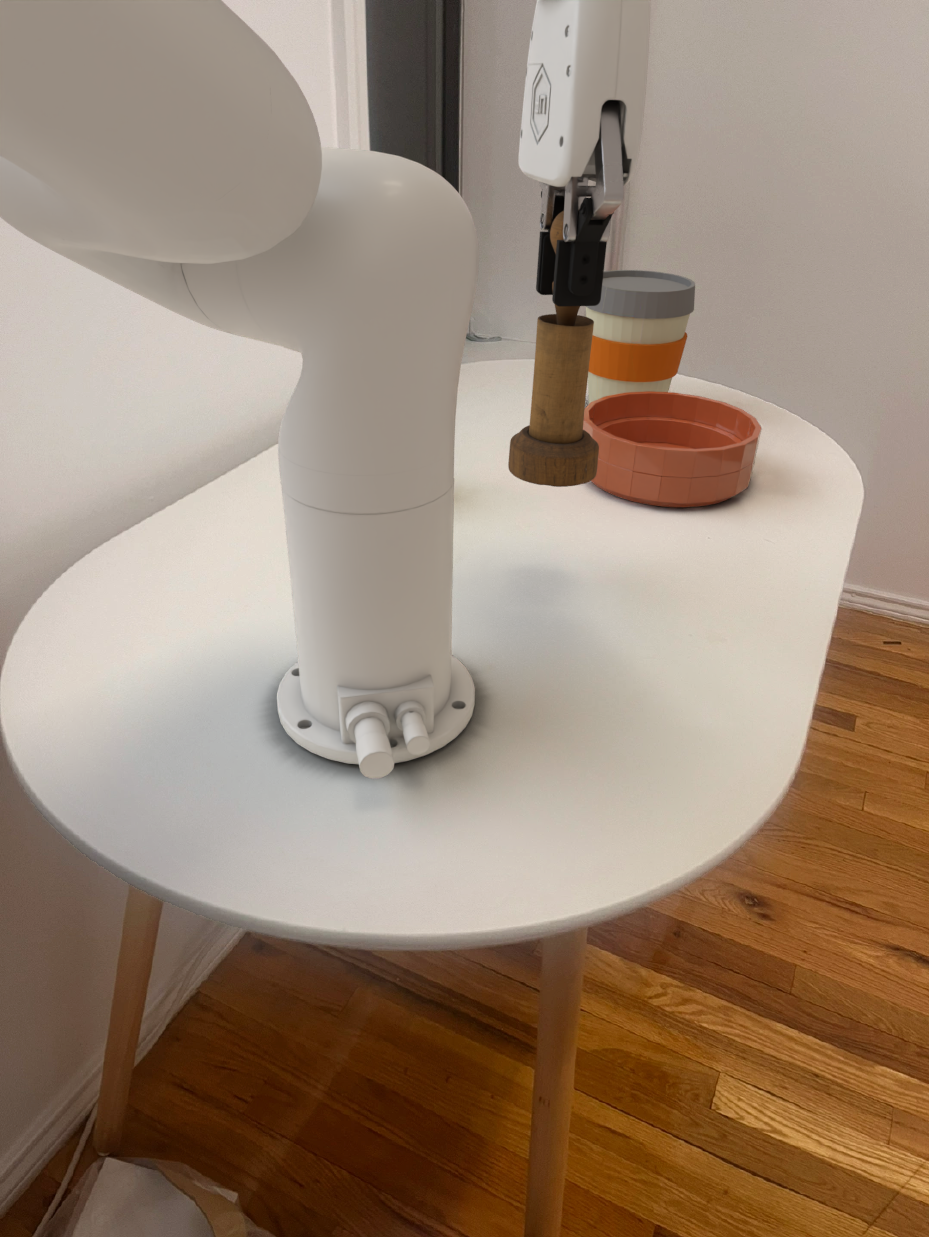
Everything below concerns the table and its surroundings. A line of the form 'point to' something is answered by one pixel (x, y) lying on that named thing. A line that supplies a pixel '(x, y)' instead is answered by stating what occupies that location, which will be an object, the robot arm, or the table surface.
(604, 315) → the reusable coffee cup
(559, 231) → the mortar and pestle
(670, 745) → the table surface
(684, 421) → the bowl
